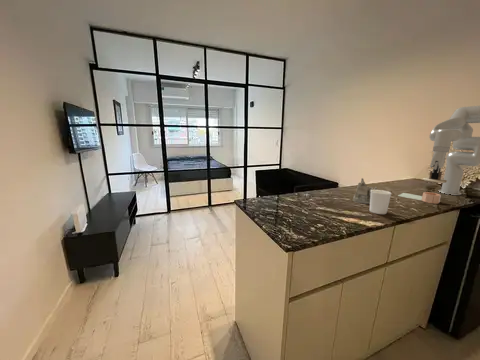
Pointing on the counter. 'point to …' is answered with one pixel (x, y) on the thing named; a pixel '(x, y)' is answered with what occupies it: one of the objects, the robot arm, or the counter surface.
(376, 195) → the candle holder
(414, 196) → the mat
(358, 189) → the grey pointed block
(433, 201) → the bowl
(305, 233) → the counter surface
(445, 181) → the lid
